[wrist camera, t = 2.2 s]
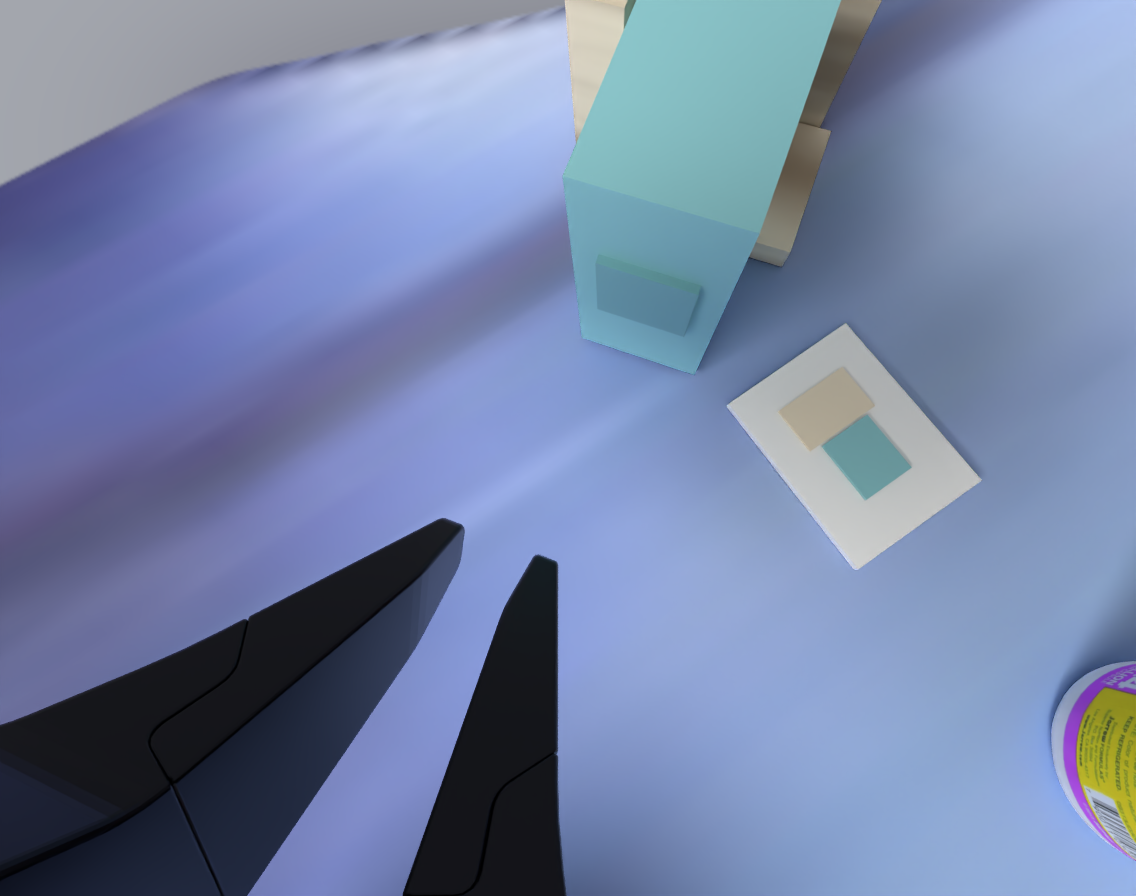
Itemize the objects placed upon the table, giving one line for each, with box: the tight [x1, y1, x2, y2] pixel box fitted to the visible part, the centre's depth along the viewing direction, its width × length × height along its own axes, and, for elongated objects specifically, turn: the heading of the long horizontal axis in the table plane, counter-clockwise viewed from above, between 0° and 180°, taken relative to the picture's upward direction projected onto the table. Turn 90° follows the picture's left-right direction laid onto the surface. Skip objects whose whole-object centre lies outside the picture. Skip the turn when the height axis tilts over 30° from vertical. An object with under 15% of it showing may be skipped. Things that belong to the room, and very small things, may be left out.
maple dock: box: [565, 0, 882, 267], centre depth 21 cm, size 8×9×10 cm
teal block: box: [563, 0, 841, 375], centre depth 20 cm, size 8×5×10 cm, turn 159°
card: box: [726, 323, 982, 570], centre depth 23 cm, size 8×6×1 cm
